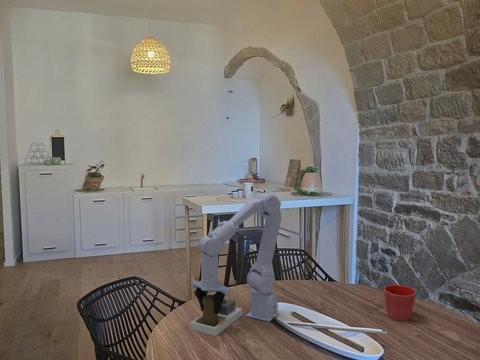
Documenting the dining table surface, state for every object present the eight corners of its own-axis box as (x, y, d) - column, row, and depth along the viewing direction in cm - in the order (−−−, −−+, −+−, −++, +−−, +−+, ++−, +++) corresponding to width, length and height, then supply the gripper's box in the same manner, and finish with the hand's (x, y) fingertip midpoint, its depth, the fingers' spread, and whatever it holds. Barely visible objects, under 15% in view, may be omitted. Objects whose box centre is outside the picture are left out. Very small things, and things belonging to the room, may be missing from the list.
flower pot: (419, 315, 146) (420, 289, 146) (408, 325, 139) (408, 298, 138) (390, 307, 154) (391, 282, 153) (377, 316, 146) (378, 290, 145)
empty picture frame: (242, 315, 148) (242, 298, 148) (215, 336, 133) (215, 317, 132) (219, 310, 153) (218, 293, 152) (190, 329, 137) (189, 311, 137)
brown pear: (215, 332, 135) (215, 300, 134) (198, 330, 137) (198, 298, 136) (221, 324, 141) (221, 293, 140) (204, 322, 143) (204, 291, 142)
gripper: (185, 272, 138) (186, 311, 139) (222, 279, 130) (222, 320, 132) (197, 266, 144) (198, 304, 145) (233, 272, 137) (233, 312, 138)
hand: (210, 311), depth 139 cm, fingers closed on brown pear, 5 cm apart
